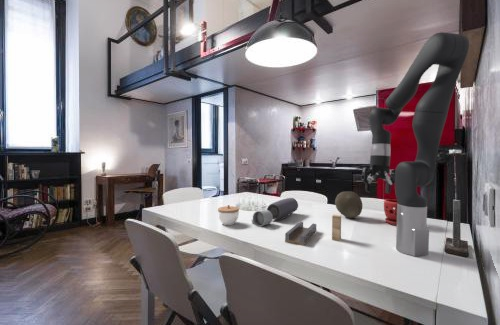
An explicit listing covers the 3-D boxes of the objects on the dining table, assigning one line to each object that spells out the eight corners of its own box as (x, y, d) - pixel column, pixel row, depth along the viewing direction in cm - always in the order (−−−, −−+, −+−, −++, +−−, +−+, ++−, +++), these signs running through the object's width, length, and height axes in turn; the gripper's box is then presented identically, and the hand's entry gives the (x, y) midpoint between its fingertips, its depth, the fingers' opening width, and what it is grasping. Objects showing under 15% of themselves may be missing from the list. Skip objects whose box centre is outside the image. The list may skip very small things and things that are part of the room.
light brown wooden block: (333, 237, 106) (333, 214, 106) (340, 238, 105) (341, 215, 104) (331, 239, 103) (332, 216, 103) (339, 241, 101) (339, 217, 101)
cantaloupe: (357, 215, 145) (358, 189, 145) (365, 221, 131) (366, 193, 131) (333, 214, 147) (333, 189, 147) (337, 220, 133) (338, 192, 133)
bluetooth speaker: (284, 212, 152) (285, 196, 152) (298, 214, 147) (299, 197, 146) (265, 220, 133) (265, 201, 133) (280, 223, 128) (281, 204, 128)
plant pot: (417, 228, 120) (418, 203, 119) (388, 226, 122) (389, 202, 122) (406, 221, 132) (407, 199, 132) (380, 219, 135) (380, 198, 135)
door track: (299, 228, 118) (299, 221, 118) (316, 231, 114) (316, 224, 114) (285, 241, 100) (285, 233, 100) (304, 245, 96) (304, 236, 96)
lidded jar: (229, 227, 119) (229, 208, 119) (213, 223, 126) (213, 205, 125) (243, 222, 128) (243, 205, 127) (227, 219, 134) (227, 202, 134)
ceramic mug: (274, 224, 125) (273, 209, 125) (264, 228, 119) (264, 212, 119) (257, 221, 132) (257, 206, 132) (247, 224, 126) (247, 209, 125)
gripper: (369, 153, 101) (366, 193, 101) (402, 155, 102) (399, 195, 102) (359, 154, 108) (357, 190, 108) (390, 156, 109) (388, 192, 109)
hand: (377, 192), depth 105 cm, fingers open, 8 cm apart
